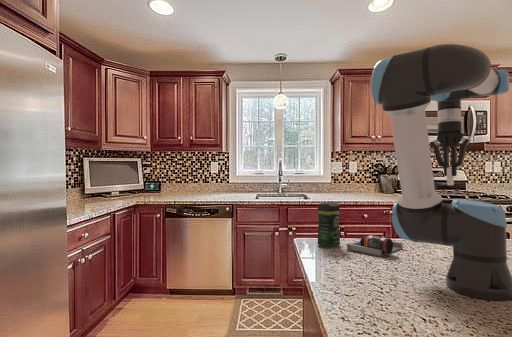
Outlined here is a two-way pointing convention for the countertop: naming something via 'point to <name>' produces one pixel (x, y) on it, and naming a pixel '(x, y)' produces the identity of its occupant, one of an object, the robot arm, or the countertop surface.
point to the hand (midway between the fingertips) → (450, 185)
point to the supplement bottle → (377, 243)
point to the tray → (372, 249)
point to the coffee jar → (328, 224)
